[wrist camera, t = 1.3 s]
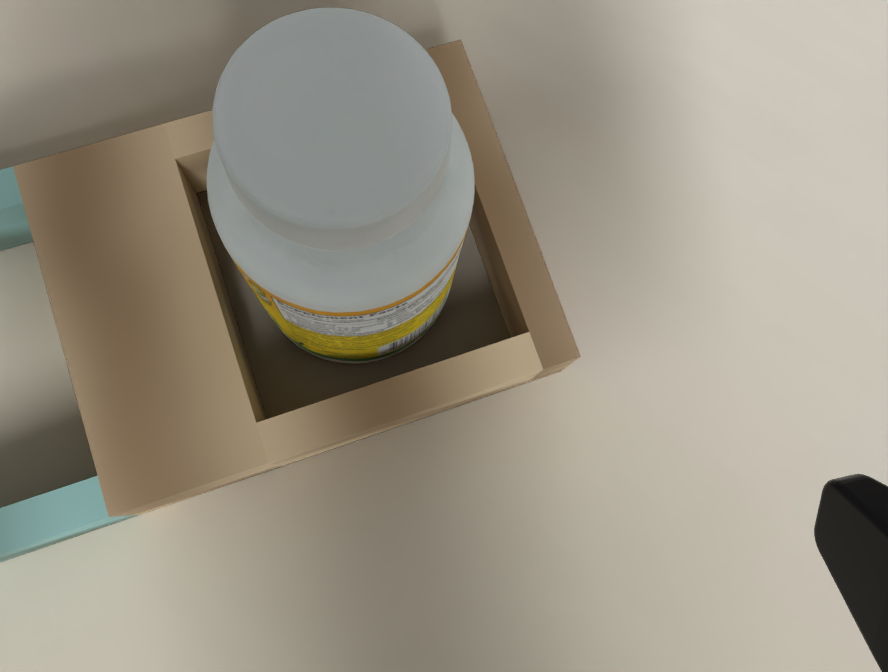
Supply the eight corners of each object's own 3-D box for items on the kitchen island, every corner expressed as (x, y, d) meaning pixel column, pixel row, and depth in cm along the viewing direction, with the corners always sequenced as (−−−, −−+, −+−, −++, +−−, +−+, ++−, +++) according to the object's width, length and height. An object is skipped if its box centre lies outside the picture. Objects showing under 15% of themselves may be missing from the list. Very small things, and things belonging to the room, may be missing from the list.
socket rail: (453, 83, 24) (460, 39, 22) (560, 371, 23) (580, 356, 21) (-252, 287, 22) (-329, 263, 20) (-181, 623, 20) (-255, 641, 18)
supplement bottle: (440, 376, 23) (477, 291, 13) (244, 354, 22) (140, 252, 13) (459, 191, 24) (507, -9, 14) (272, 168, 23) (195, -51, 14)
